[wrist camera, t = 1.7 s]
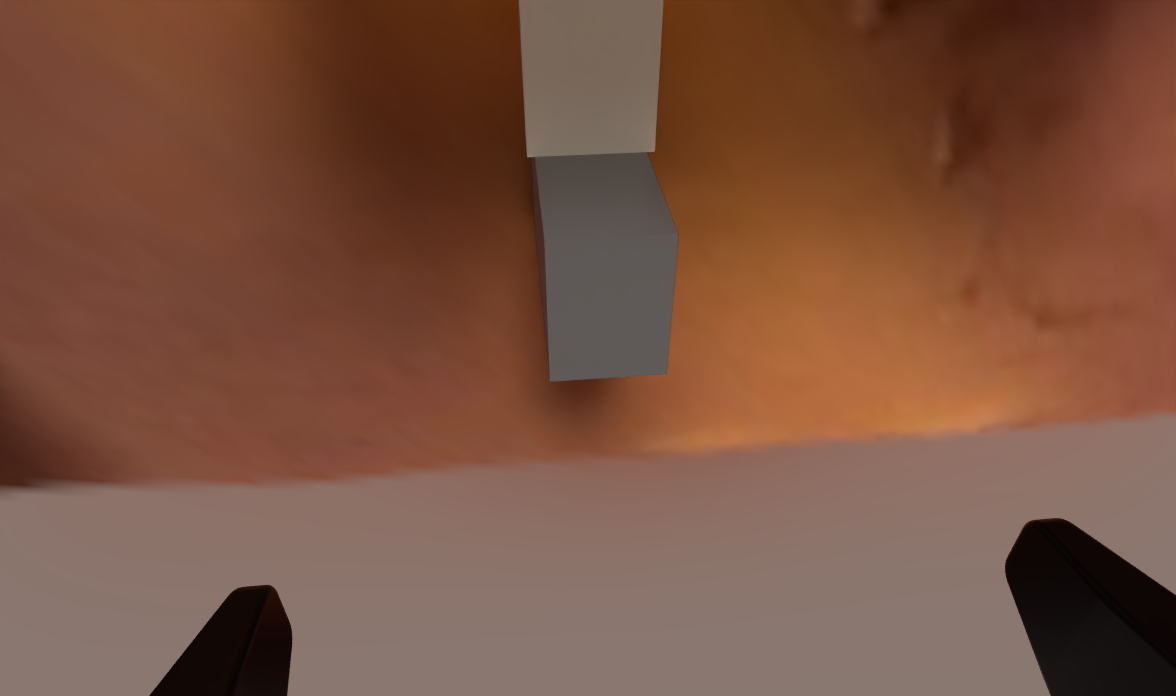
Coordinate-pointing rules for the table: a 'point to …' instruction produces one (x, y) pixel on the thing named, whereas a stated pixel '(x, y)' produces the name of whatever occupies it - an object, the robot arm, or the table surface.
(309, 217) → the table surface
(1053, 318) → the table surface
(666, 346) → the grey mallet
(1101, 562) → the robot arm
